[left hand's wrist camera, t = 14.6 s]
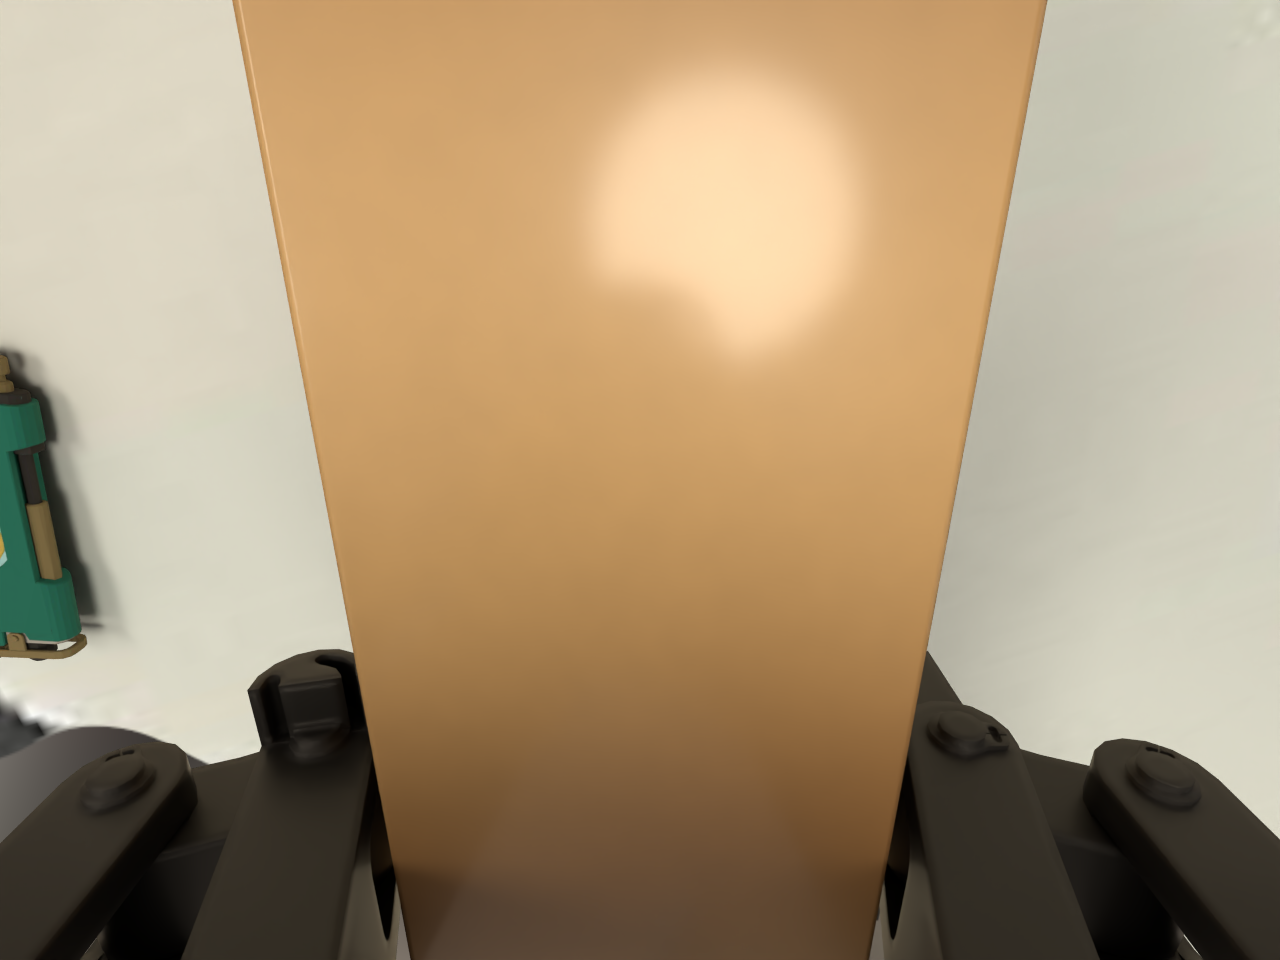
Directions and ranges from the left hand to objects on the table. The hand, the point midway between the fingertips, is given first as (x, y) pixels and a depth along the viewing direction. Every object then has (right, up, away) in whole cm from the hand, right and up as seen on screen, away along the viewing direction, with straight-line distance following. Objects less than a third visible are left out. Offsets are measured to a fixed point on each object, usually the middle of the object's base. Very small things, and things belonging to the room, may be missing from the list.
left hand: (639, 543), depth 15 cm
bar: (0, +9, -3) cm, 10 cm away
